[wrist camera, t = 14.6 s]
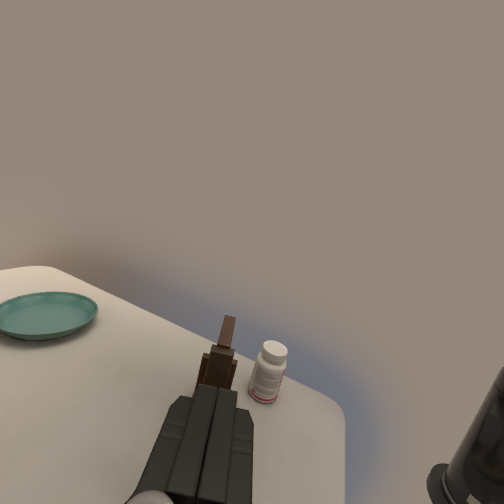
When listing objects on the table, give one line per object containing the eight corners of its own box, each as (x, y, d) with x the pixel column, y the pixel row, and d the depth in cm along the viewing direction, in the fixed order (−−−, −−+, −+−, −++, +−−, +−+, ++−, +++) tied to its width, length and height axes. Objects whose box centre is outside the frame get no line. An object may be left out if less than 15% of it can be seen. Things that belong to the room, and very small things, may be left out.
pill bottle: (281, 403, 41) (295, 358, 39) (253, 405, 39) (266, 357, 37) (270, 381, 45) (283, 339, 43) (244, 381, 43) (256, 338, 41)
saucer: (84, 349, 42) (86, 335, 41) (-36, 349, 36) (-37, 332, 36) (104, 305, 55) (105, 294, 54) (18, 300, 50) (18, 288, 49)
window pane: (218, 400, 36) (239, 318, 33) (208, 452, 29) (234, 353, 26) (202, 396, 36) (221, 314, 33) (188, 448, 29) (211, 348, 26)
